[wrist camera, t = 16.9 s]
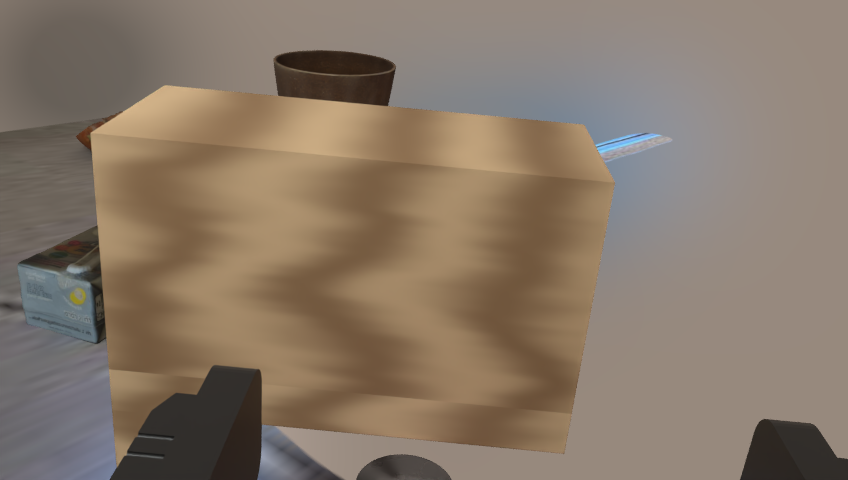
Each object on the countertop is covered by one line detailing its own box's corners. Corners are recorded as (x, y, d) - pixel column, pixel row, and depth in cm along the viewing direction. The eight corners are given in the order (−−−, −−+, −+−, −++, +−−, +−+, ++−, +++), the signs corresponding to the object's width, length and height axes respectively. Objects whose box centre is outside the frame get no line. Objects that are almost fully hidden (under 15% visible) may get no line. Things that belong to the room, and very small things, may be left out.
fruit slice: (111, 165, 106) (109, 128, 104) (65, 158, 107) (61, 121, 105) (145, 148, 113) (143, 113, 111) (101, 141, 114) (99, 107, 112)
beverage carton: (18, 325, 68) (9, 254, 66) (161, 246, 85) (158, 186, 83) (96, 348, 66) (90, 275, 63) (227, 262, 83) (226, 202, 80)
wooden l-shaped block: (132, 664, 40) (90, 132, 29) (186, 538, 48) (168, 82, 37) (517, 702, 40) (614, 182, 29) (508, 570, 48) (582, 121, 37)
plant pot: (273, 204, 98) (275, 71, 92) (270, 164, 111) (271, 46, 105) (395, 205, 101) (405, 77, 95) (378, 166, 114) (385, 52, 108)
